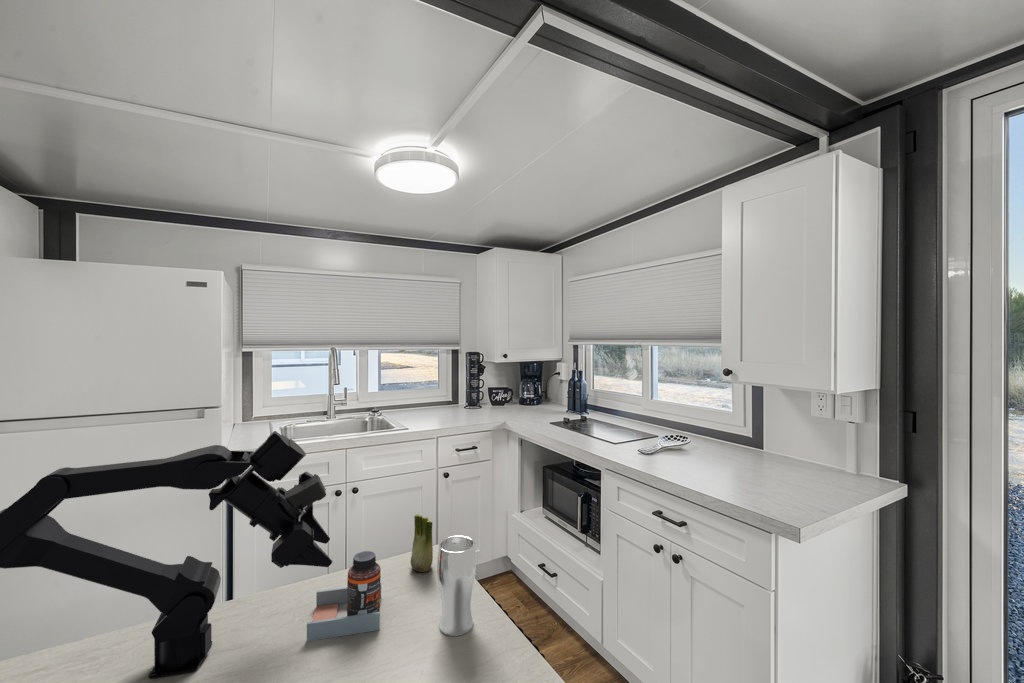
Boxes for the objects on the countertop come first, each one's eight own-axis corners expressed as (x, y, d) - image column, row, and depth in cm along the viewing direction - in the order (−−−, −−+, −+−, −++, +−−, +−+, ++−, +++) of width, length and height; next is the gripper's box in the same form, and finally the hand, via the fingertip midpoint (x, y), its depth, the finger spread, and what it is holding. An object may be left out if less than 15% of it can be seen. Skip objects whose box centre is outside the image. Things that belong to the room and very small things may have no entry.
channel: (306, 641, 75) (306, 624, 75) (316, 606, 85) (316, 591, 85) (379, 629, 78) (379, 613, 78) (381, 597, 88) (381, 582, 88)
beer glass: (480, 616, 82) (480, 537, 82) (468, 641, 76) (468, 555, 75) (445, 610, 84) (446, 533, 84) (430, 634, 77) (431, 550, 77)
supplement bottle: (370, 628, 79) (370, 565, 79) (340, 623, 80) (340, 562, 80) (386, 607, 85) (386, 549, 84) (358, 603, 86) (358, 546, 86)
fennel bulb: (435, 573, 97) (435, 519, 97) (412, 577, 95) (413, 523, 95) (429, 560, 102) (430, 510, 102) (408, 564, 101) (408, 513, 100)
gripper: (295, 480, 69) (368, 537, 73) (298, 451, 86) (357, 498, 90) (236, 539, 65) (317, 594, 70) (251, 497, 82) (315, 544, 87)
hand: (329, 552), depth 80 cm, fingers open, 9 cm apart
